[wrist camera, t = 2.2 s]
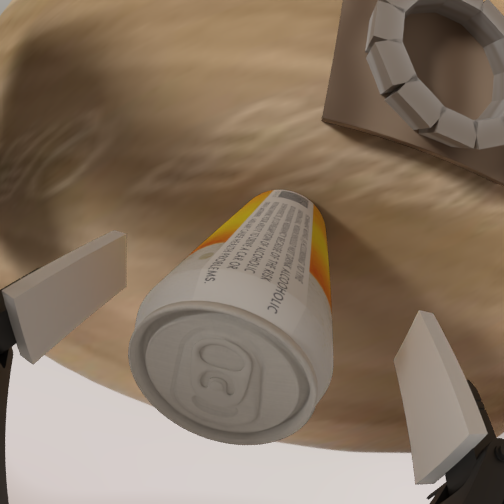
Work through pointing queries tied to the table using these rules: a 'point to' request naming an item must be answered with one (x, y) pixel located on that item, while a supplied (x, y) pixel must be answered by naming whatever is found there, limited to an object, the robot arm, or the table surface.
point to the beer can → (242, 326)
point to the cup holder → (423, 78)
